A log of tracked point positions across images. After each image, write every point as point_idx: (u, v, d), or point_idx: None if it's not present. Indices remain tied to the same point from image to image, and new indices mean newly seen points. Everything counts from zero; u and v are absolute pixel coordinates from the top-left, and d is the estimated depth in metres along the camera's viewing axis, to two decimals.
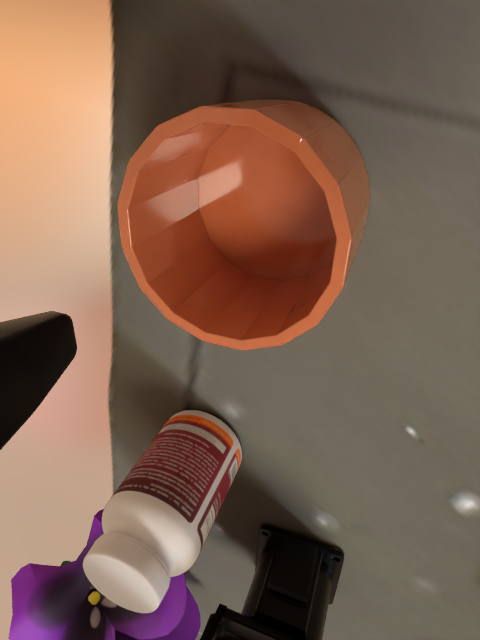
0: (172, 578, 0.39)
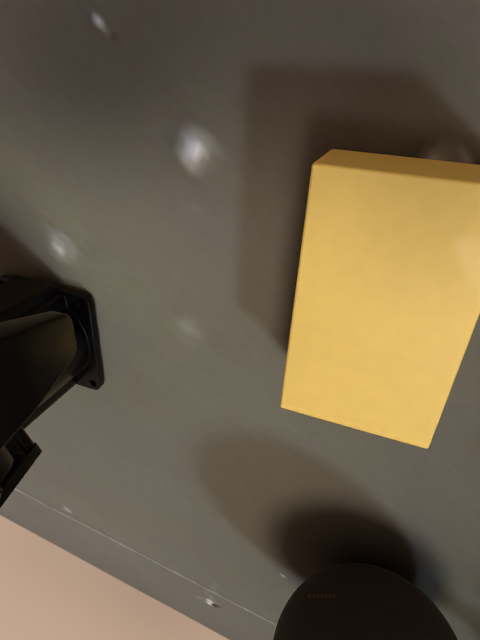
0: None
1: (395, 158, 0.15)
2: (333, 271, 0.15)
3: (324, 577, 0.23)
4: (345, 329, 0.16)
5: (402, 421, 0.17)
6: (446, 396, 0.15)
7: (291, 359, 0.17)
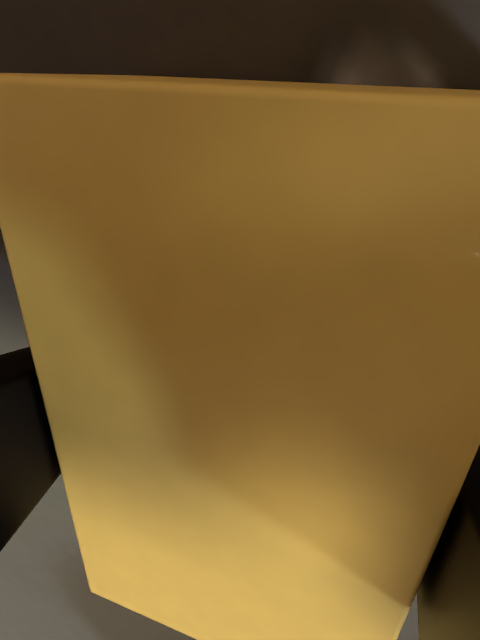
0: None
1: None
2: (96, 360, 0.06)
3: None
4: (155, 482, 0.07)
5: None
6: None
7: (80, 521, 0.08)
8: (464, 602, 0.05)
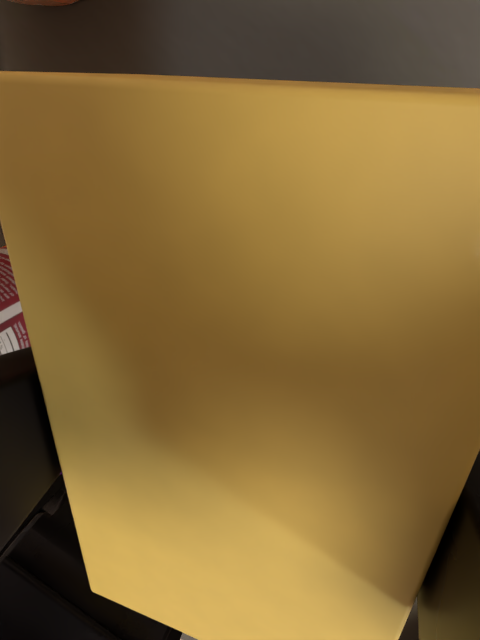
0: None
1: (253, 79, 0.06)
2: (98, 360, 0.06)
3: None
4: (156, 482, 0.07)
5: None
6: None
7: (80, 521, 0.08)
8: (464, 602, 0.05)
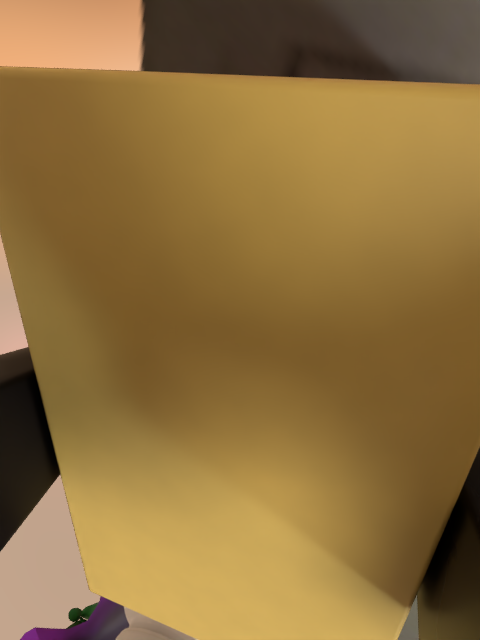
0: None
1: None
2: (94, 358, 0.06)
3: None
4: (154, 481, 0.07)
5: None
6: None
7: (78, 520, 0.08)
8: (464, 602, 0.05)
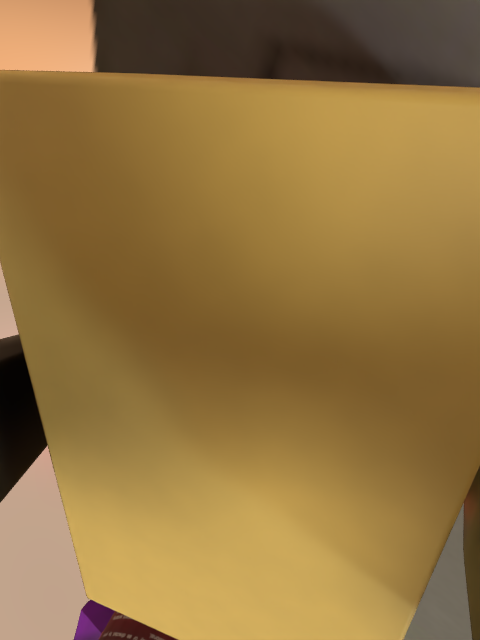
0: None
1: (250, 78, 0.06)
2: (90, 365, 0.06)
3: None
4: (151, 489, 0.07)
5: None
6: None
7: (75, 527, 0.08)
8: None
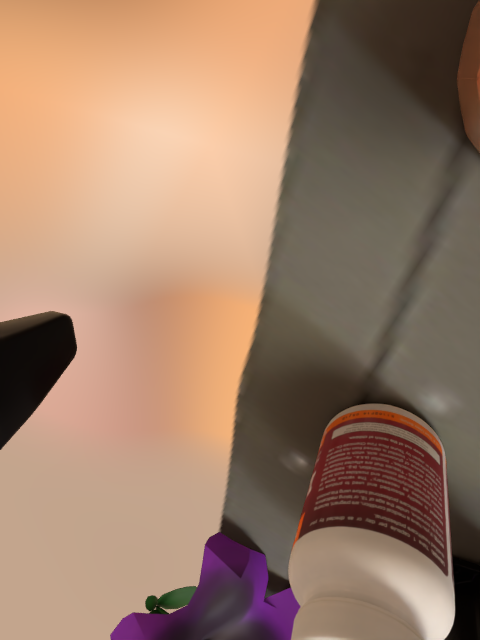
0: None
1: None
2: None
3: None
4: None
5: None
6: None
7: None
8: None
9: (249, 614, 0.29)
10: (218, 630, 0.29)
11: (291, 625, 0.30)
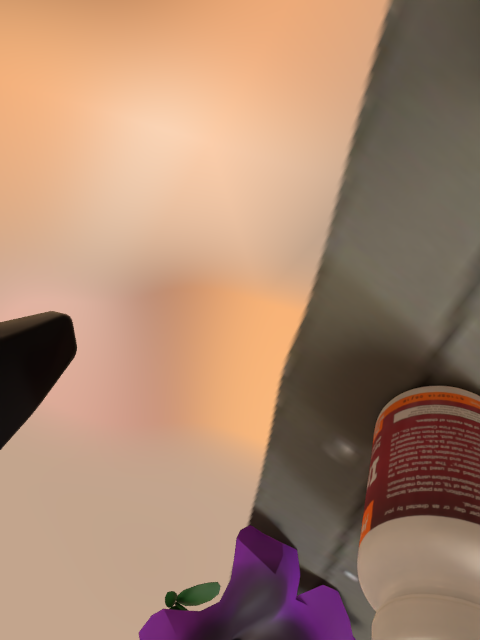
0: (334, 621, 0.29)
1: None
2: None
3: None
4: None
5: None
6: None
7: None
8: None
9: (282, 612, 0.28)
10: (249, 629, 0.27)
11: (324, 624, 0.29)
